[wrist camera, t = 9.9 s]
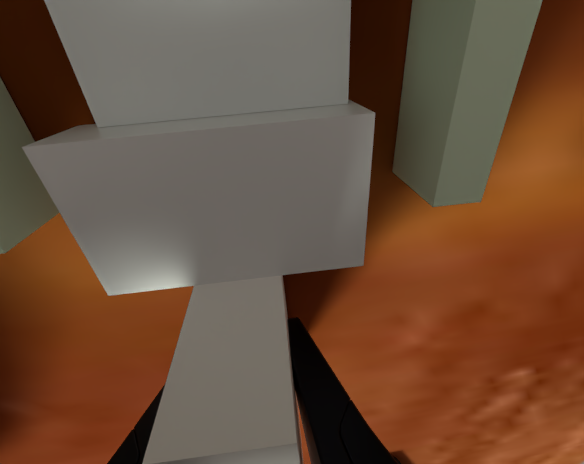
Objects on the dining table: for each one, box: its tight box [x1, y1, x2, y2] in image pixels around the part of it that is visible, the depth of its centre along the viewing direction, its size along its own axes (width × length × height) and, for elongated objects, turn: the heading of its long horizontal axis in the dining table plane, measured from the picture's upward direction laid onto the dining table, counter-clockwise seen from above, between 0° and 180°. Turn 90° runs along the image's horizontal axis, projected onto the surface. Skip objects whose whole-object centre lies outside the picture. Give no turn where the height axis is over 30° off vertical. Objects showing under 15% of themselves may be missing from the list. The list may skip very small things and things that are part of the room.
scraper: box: [22, 100, 375, 464], centre depth 8 cm, size 11×7×6 cm, turn 4°
